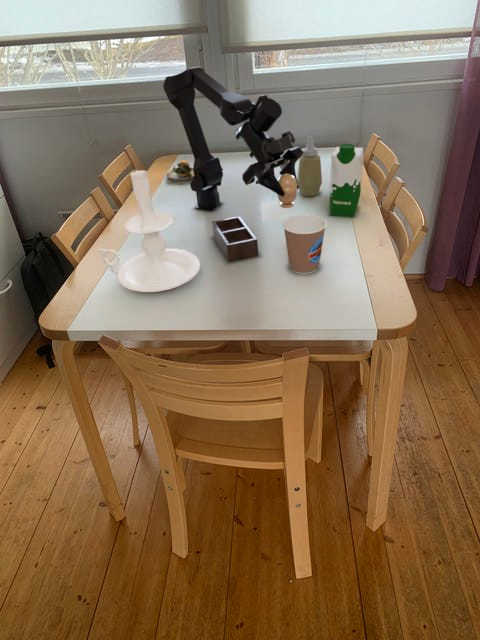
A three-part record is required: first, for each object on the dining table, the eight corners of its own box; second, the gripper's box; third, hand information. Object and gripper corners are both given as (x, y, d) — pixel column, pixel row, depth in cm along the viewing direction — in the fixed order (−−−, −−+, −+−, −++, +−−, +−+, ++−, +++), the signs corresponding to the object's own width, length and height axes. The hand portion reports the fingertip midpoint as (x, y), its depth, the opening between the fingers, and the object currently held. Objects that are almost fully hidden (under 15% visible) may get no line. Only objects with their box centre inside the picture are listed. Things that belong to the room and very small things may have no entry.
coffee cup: (314, 281, 112) (315, 236, 105) (276, 272, 117) (274, 228, 110) (331, 262, 119) (333, 218, 112) (294, 253, 124) (294, 211, 117)
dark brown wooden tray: (228, 262, 123) (226, 245, 120) (213, 237, 135) (211, 221, 132) (258, 256, 124) (257, 239, 121) (241, 232, 136) (239, 216, 133)
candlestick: (120, 258, 129) (93, 155, 112) (208, 259, 125) (195, 152, 108) (90, 301, 112) (54, 188, 96) (191, 303, 109) (172, 186, 92)
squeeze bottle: (294, 196, 154) (293, 140, 143) (300, 187, 160) (301, 132, 149) (318, 199, 151) (319, 141, 141) (324, 189, 157) (326, 133, 146)
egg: (277, 210, 125) (276, 178, 120) (276, 202, 129) (276, 171, 124) (297, 208, 125) (297, 177, 120) (295, 201, 129) (295, 169, 124)
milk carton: (326, 216, 140) (329, 148, 129) (332, 204, 147) (335, 138, 135) (356, 218, 138) (362, 149, 126) (360, 206, 145) (366, 139, 133)
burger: (161, 178, 177) (157, 158, 173) (186, 169, 183) (183, 150, 179) (180, 185, 170) (177, 165, 165) (205, 176, 176) (203, 156, 171)
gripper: (247, 132, 112) (282, 187, 112) (298, 114, 122) (331, 165, 122) (227, 159, 122) (260, 210, 121) (276, 140, 131) (306, 187, 131)
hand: (290, 192), depth 124 cm, fingers closed on egg, 5 cm apart
